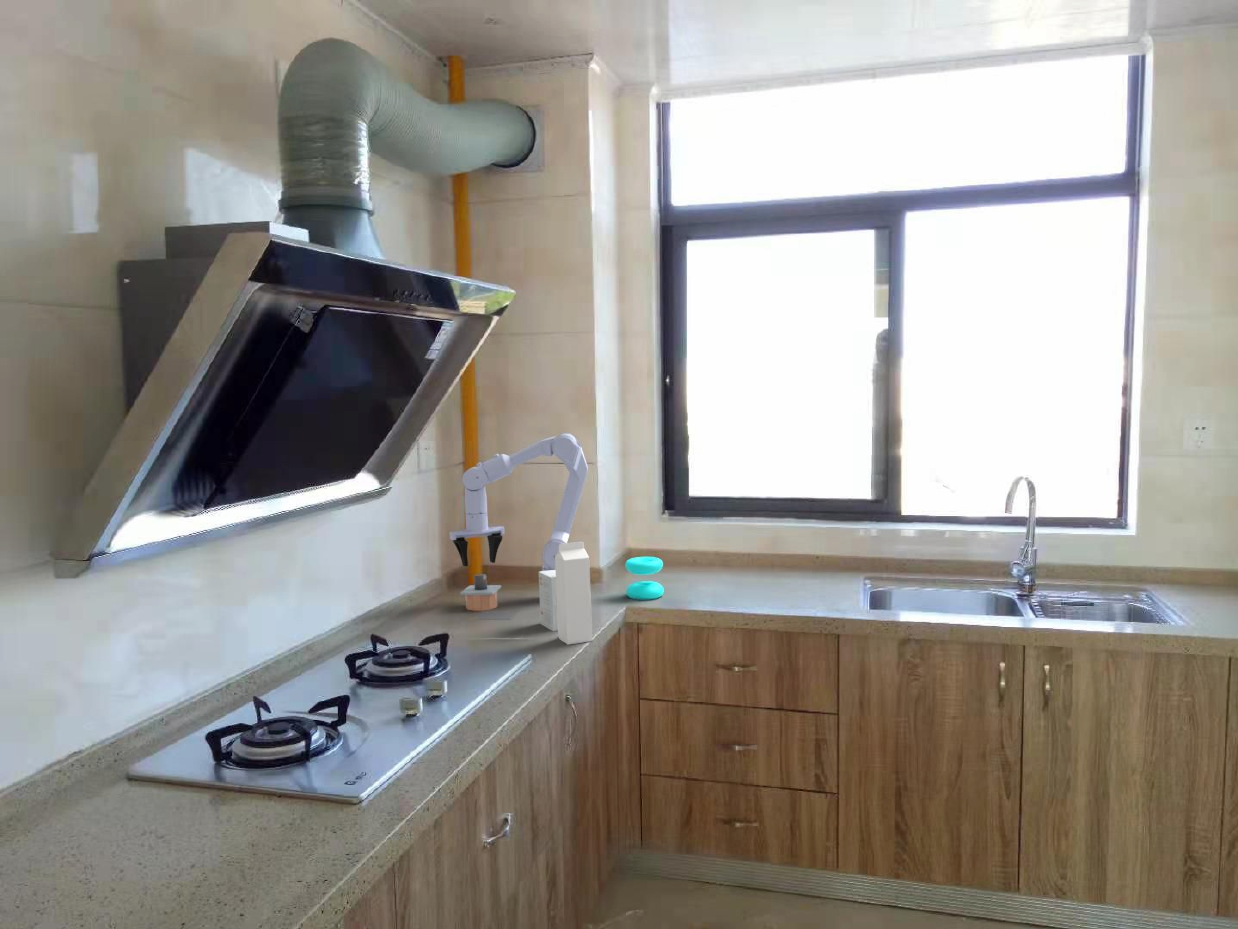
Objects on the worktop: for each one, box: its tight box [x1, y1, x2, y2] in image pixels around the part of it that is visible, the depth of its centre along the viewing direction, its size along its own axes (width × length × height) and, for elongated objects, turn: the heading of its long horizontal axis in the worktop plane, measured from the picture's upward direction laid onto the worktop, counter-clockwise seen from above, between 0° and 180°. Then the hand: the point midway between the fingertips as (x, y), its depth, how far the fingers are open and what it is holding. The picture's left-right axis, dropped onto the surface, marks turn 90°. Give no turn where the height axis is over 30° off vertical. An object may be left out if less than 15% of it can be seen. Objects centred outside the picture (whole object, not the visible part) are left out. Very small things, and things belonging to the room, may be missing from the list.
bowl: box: [464, 591, 498, 612], centre depth 245 cm, size 8×8×4 cm
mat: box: [474, 610, 520, 621], centre depth 235 cm, size 9×9×1 cm
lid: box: [459, 573, 502, 596], centre depth 244 cm, size 8×8×4 cm
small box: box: [538, 570, 558, 632], centre depth 223 cm, size 8×6×13 cm
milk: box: [555, 541, 593, 645], centre depth 211 cm, size 6×6×22 cm
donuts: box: [624, 556, 665, 601], centre depth 251 cm, size 10×10×10 cm
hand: (478, 564), depth 250 cm, fingers open, 7 cm apart
